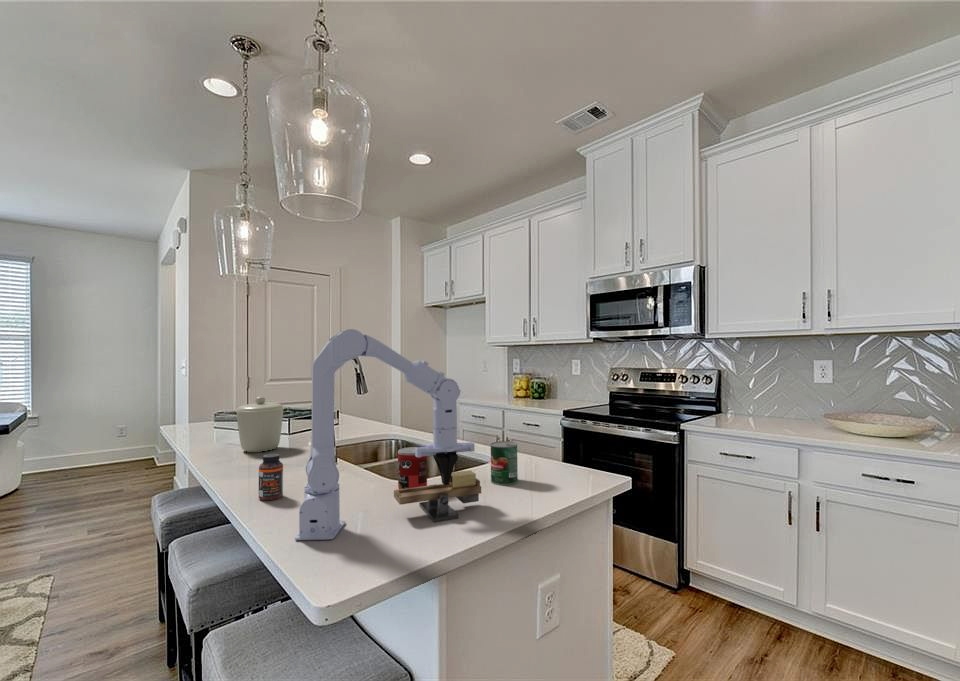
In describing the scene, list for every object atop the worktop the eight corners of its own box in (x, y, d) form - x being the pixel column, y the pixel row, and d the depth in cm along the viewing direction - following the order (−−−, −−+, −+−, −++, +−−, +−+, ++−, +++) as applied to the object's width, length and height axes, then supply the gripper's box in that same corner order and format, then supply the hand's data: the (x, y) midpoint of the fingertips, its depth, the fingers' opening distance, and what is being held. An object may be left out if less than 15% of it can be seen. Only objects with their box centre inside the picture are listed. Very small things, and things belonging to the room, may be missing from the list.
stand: (433, 522, 103) (433, 499, 104) (419, 505, 115) (419, 484, 115) (458, 518, 106) (458, 495, 106) (442, 502, 117) (441, 481, 117)
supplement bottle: (260, 503, 118) (260, 458, 118) (256, 496, 123) (256, 454, 123) (285, 498, 122) (284, 455, 122) (280, 492, 127) (280, 451, 127)
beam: (399, 513, 104) (399, 492, 104) (393, 505, 109) (393, 484, 109) (481, 501, 111) (481, 481, 111) (472, 494, 117) (471, 475, 117)
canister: (277, 443, 195) (277, 393, 195) (291, 450, 181) (291, 396, 181) (230, 449, 183) (229, 396, 183) (240, 457, 169) (240, 400, 169)
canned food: (395, 487, 130) (395, 448, 130) (423, 484, 133) (423, 445, 133) (401, 495, 123) (400, 454, 123) (430, 491, 126) (429, 451, 126)
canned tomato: (487, 484, 132) (486, 445, 132) (495, 476, 140) (494, 440, 140) (514, 486, 130) (513, 447, 130) (520, 478, 137) (520, 441, 137)
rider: (452, 491, 110) (452, 476, 110) (447, 487, 113) (447, 472, 113) (475, 488, 112) (475, 473, 112) (470, 484, 116) (470, 470, 116)
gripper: (420, 432, 105) (421, 492, 105) (479, 427, 110) (479, 484, 110) (412, 427, 111) (413, 484, 111) (468, 423, 117) (468, 477, 117)
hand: (445, 483), depth 111 cm, fingers closed
